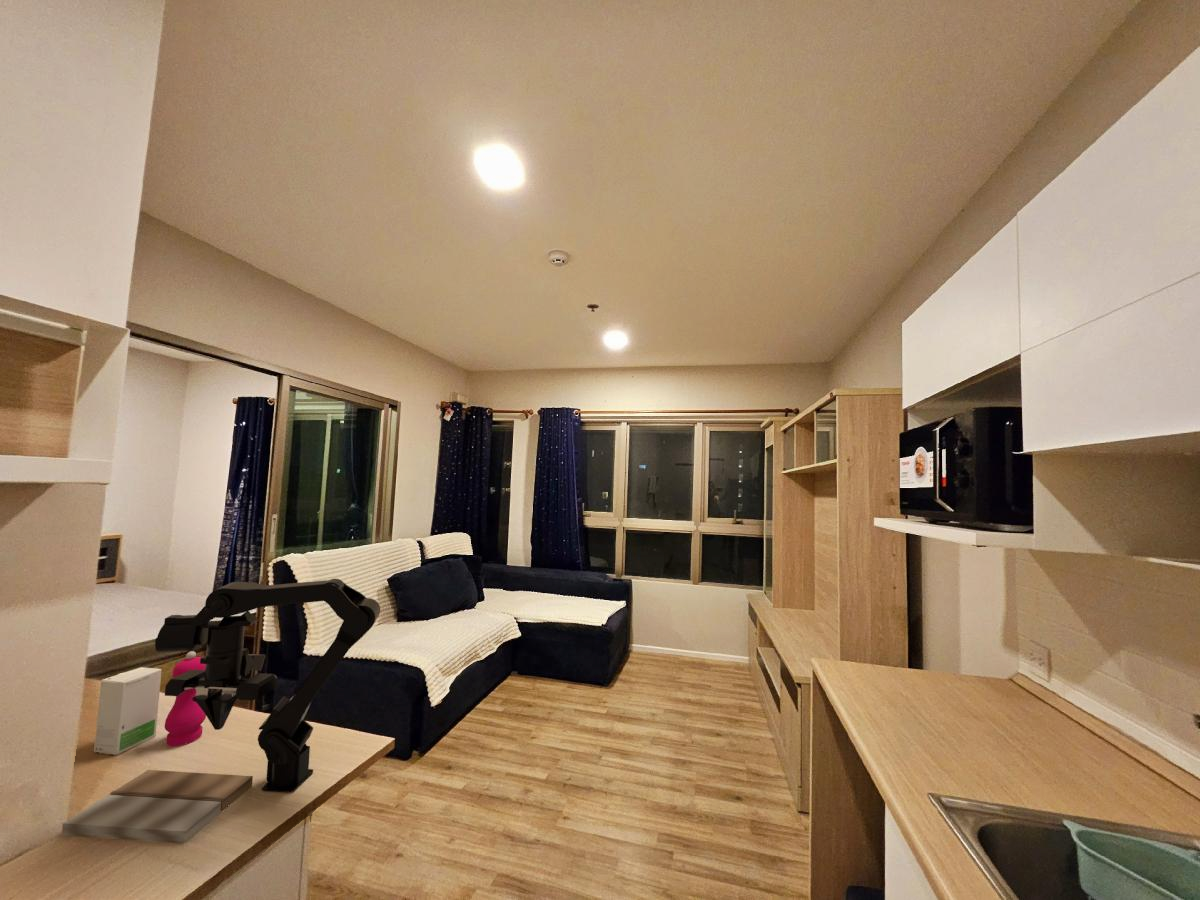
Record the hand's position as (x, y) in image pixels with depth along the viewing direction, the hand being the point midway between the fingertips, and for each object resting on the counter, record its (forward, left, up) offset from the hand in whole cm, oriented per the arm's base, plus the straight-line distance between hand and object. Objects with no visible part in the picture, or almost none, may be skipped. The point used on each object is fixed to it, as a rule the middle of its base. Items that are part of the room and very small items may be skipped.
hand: (219, 728), depth 91 cm
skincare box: (+33, -13, -12) cm, 38 cm away
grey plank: (+5, +9, -12) cm, 16 cm away
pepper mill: (+22, -16, -12) cm, 30 cm away
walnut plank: (+5, +1, -12) cm, 13 cm away
